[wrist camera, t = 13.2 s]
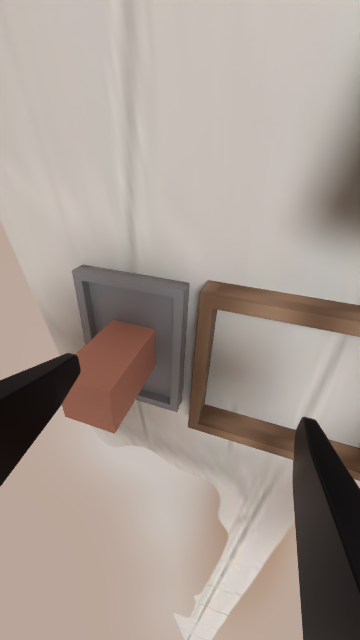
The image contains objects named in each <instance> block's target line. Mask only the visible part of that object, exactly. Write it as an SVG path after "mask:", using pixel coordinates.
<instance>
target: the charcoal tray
mask: <svg viewBox="0 0 360 640" xmlns="http://www.w3.org/2000/svg"><path fill="white" fill-rule="evenodd" d="M72 273H73V278H74V284H75V289H76V294H77V300H78V305H79V310H80V316H81V321H82V327H83V332H84V337H85V343H86V344H88V343H89V342H90V341H91V340H92V339H93V338H94V337H95V336H96V335H97V334H98V333H99V332H100V331H101V330H102V329H103V328H104V327H105V326H106V325H108V324H109V323H110V322H111V321H112V320H116V321H120V322H125V323H129V324H134V325H138V326H143V327H147V328H151V329H155V344H156V366H155V368H154V369H153V371H152V373H151V374H150V376H149V378H148V379H147V381H146V383H145V384H144V386H143V387H142V389H141V391H140V392H139V394H138V396H137V397H136V399H135V400H139V401H142V402H145V403H149V404H152V405H155V406H159V407H162V408H165V409H169V410H172V411H176V412H177V411H178V409H179V406H180V404H181V401H182V387H183V372H184V357H185V342H186V327H187V312H188V297H189V283H186V282H180V281H175V280H169V279H163V278H157V277H151V276H145V275H140V274H134V273H128V272H122V271H116V270H111V269H105V268H99V267H93V266H87V265H81V266H79V267H78V268H76V269H74V270H72Z"/></svg>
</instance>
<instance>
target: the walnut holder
mask: <svg viewBox="0 0 360 640" xmlns="http://www.w3.org/2000/svg"><path fill="white" fill-rule="evenodd" d="M217 309H218V310H223V311H228V312H233V313H239V314H244V315H249V316H254V317H259V318H265V319H270V320H275V321H280V322H285V323H291V324H296V325H301V326H306V327H311V328H317V329H322V330H327V331H332V332H338V333H343V334H348V335H353V336H358V337H360V306H359V305H353V304H347V303H341V302H335V301H329V300H323V299H317V298H311V297H305V296H299V295H293V294H287V293H281V292H275V291H269V290H263V289H257V288H251V287H245V286H239V285H233V284H227V283H221V282H215V281H209V280H208V281H207V283H206V285H205V286H204V288H203V290H202V292H201V293H200V302H199V313H198V324H197V334H196V345H195V356H194V367H193V378H192V388H191V399H190V410H189V421H188V427H189V428H192V429H195V430H199V431H202V432H205V433H208V434H211V435H215V436H218V437H221V438H224V439H227V440H231V441H234V442H237V443H240V444H244V445H247V446H250V447H253V448H256V449H260V450H263V451H266V452H269V453H272V454H276V455H279V456H282V457H285V458H289V459H292V460H294V439H295V432H296V431H295V430H292V429H288V428H285V427H281V426H278V425H274V424H271V423H267V422H264V421H260V420H257V419H253V418H250V417H246V416H243V415H239V414H236V413H232V412H229V411H225V410H222V409H218V408H215V407H211V406H208V405H204V403H205V395H206V388H207V380H208V373H209V366H210V358H211V351H212V344H213V336H214V329H215V321H216V314H217ZM329 441H330V443H331V444H332V446H333V448H334V449H335V451H336V452H337V454H338V455H339V457H340V459H341V460H342V462H343V463H344V465H345V466H346V468H347V470H348V471H349V473H350V474H351V476H352V477H353V479H356V480H359V481H360V449H359V448H355V447H352V446H348V445H345V444H341V443H338V442H334V441H331V440H329Z"/></svg>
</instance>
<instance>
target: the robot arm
mask: <svg viewBox="0 0 360 640" xmlns="http://www.w3.org/2000/svg"><path fill="white" fill-rule="evenodd" d="M80 372H81V368H80V363H79V358H78V356H77V355H75V354H71V353H67V354H64V355H61V356H59V357H57V358H54V359H52V360H49V361H47V362H44V363H42V364H40V365H37V366H35V367H32V368H30V369H28V370H25V371H22V372H20V373H17V374H15V375H12V376H10V377H8V378H5V379H3V380H0V486H1V485H2V484H3V482H4V481H5V480H6V478H7V477H8V476H9V474H10V473H11V471H12V470H13V469H14V468H15V466H16V465H17V464H18V462H19V461H20V459H21V458H22V457H23V456H24V454H25V453H26V452H27V450H28V449H29V448H30V446H31V445H32V444H33V442H34V441H35V439H36V438H37V437H38V435H39V434H40V433H41V431H42V430H43V429H44V427H45V426H46V425H47V423H48V422H49V421H50V419H51V418H52V417H53V415H54V414H55V413H56V411H57V410H58V409H59V407H60V406H61V404H62V403H63V401H64V400H65V398H66V396H67V395H68V393H69V391H70V390H71V388H72V386H73V385H74V383H75V381H76V380H77V378H78V377H79V375H80ZM293 497H294V512H295V526H296V540H297V555H298V569H299V583H300V598H301V613H302V627H303V640H360V488H359V487H358V485H357V484H356V482H355V481H354V479H353V477H352V476H351V474H350V473H349V471H348V470H347V468H346V466H345V465H344V463H343V462H342V460H341V459H340V457H339V455H338V454H337V452H336V451H335V449H334V448H333V446H332V444H331V443H330V441H329V440H328V438H327V436H326V435H325V433H324V432H323V430H322V429H321V427H320V425H319V424H318V422H317V421H316V420H314V419H311V418H307V417H302V419H301V421H300V423H299V425H298V427H297V430H296V432H295V439H294V460H293Z"/></svg>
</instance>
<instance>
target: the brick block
mask: <svg viewBox="0 0 360 640" xmlns="http://www.w3.org/2000/svg"><path fill="white" fill-rule="evenodd" d="M76 355H77V356H78V358H79V363H80V368H81V372H80V375H79V377H78V378H77V380H76V381H75V383H74V385H73V386H72V388H71V390H70V391H69V393H68V395H67V396H66V398H65V400H64V401H63V403H62V407H63V410H64V414H65V416H66V417H69V418H71V419H74V420H77V421H80V422H83V423H86V424H89V425H92V426H95V427H98V428H100V429H103V430H106V431H109V432H112V433H115V432H116V430H117V429H118V427H119V425H120V424H121V422H122V420H123V419H124V417H125V416H126V414H127V412H128V411H129V409H130V407H131V406H132V404H133V402H134V401H135V399H136V397H137V396H138V394H139V392H140V391H141V389H142V387H143V386H144V384H145V383H146V381H147V379H148V378H149V376H150V374H151V373H152V371H153V369H154V368H155V366H156V344H155V329H151V328H147V327H143V326H138V325H134V324H129V323H125V322H120V321H116V320H112V321H111V322H110V323H109V324H108V325H106V326H105V327H104V328H103V329H102V330H101V331H100V332H99V333H98V334H97V335H96V336H95V337H94V338H93V339H92V340H91V341H90V342H89V343H88V344H86V345H85V346H84V347H83V348H82V349H81V350H80V351H79V352H78V353H77V354H76Z"/></svg>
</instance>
